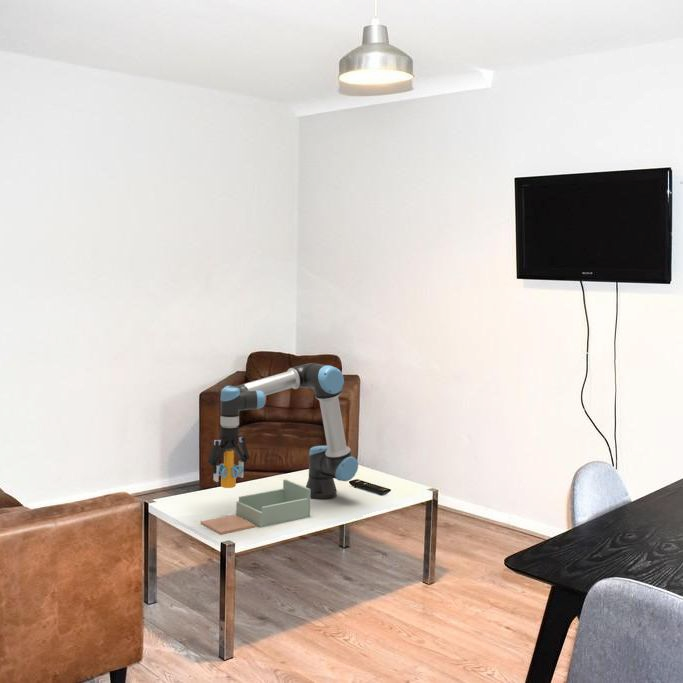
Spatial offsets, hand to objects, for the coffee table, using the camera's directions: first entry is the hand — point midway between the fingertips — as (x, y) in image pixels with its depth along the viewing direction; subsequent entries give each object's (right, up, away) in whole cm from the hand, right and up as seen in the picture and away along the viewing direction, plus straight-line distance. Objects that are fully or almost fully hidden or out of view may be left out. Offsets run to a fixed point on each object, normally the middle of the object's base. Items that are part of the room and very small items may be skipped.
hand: (228, 479), depth 333 cm
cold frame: (+17, -19, +16) cm, 30 cm away
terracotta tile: (-1, -19, +2) cm, 20 cm away
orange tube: (0, -3, 0) cm, 3 cm away
